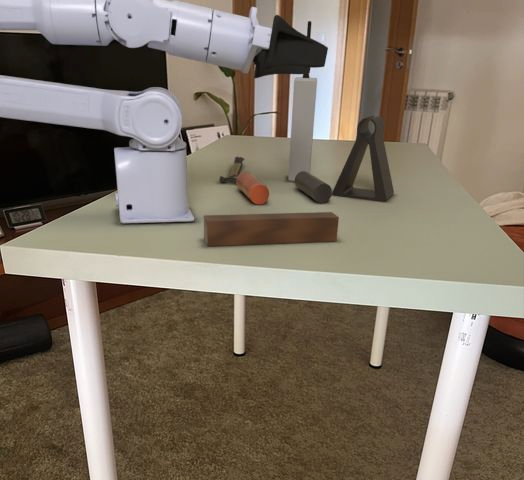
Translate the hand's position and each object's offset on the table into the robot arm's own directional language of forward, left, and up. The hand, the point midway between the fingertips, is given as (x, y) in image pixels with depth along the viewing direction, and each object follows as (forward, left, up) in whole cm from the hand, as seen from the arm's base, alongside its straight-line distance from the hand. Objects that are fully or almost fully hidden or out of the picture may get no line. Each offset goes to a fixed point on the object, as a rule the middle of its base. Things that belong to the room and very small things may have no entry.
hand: (317, 61), depth 69 cm
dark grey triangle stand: (+14, +12, -20) cm, 27 cm away
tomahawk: (-2, +32, -20) cm, 38 cm away
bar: (-8, -11, -19) cm, 23 cm away
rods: (0, +12, -19) cm, 23 cm away
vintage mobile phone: (+7, +25, -20) cm, 33 cm away
